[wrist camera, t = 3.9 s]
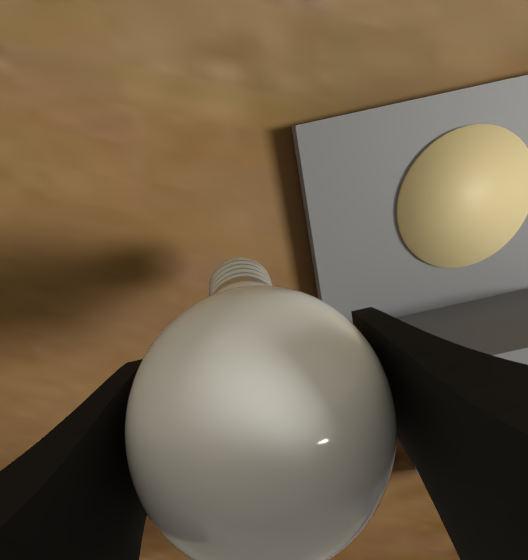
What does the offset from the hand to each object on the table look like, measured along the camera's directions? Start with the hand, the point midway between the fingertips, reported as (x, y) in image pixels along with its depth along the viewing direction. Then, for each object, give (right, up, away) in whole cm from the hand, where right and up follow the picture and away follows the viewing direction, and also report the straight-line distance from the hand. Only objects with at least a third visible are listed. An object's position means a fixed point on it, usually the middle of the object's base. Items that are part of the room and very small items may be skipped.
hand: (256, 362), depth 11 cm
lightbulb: (-1, +3, +5) cm, 6 cm away
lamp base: (+10, +6, +10) cm, 15 cm away
